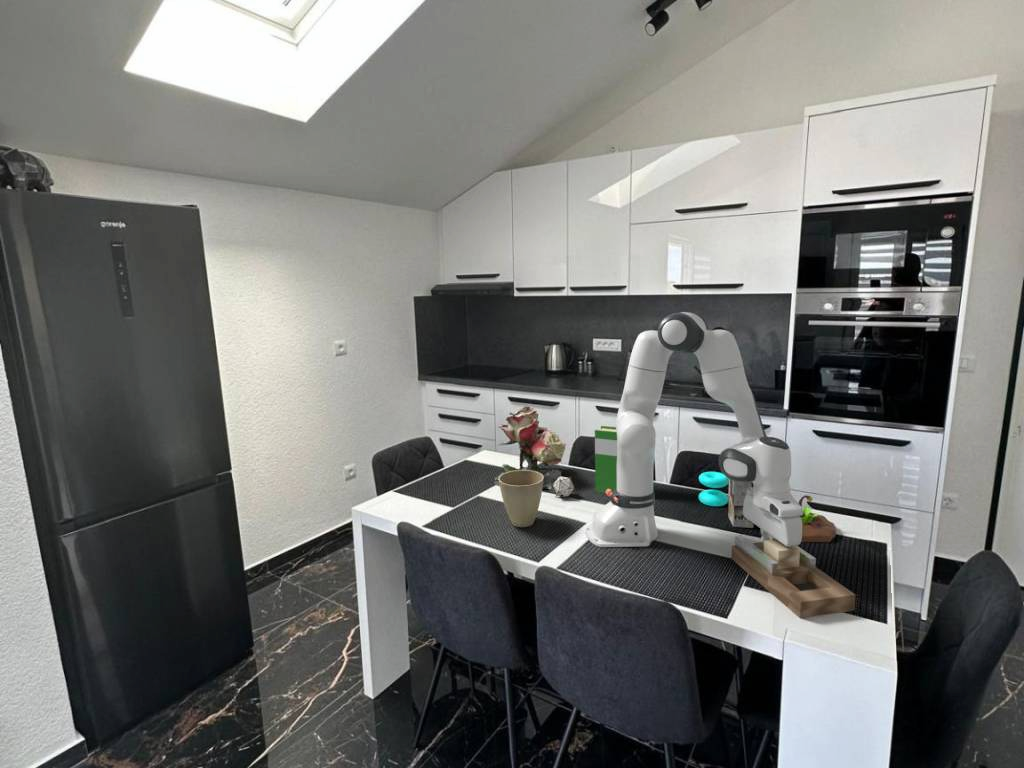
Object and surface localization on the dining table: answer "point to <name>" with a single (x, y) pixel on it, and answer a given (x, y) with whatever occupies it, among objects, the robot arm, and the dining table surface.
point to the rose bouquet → (533, 444)
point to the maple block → (782, 553)
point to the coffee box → (738, 503)
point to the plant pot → (521, 495)
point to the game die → (563, 486)
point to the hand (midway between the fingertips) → (769, 546)
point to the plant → (815, 526)
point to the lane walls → (766, 560)
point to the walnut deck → (799, 587)
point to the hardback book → (606, 459)
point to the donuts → (715, 482)
